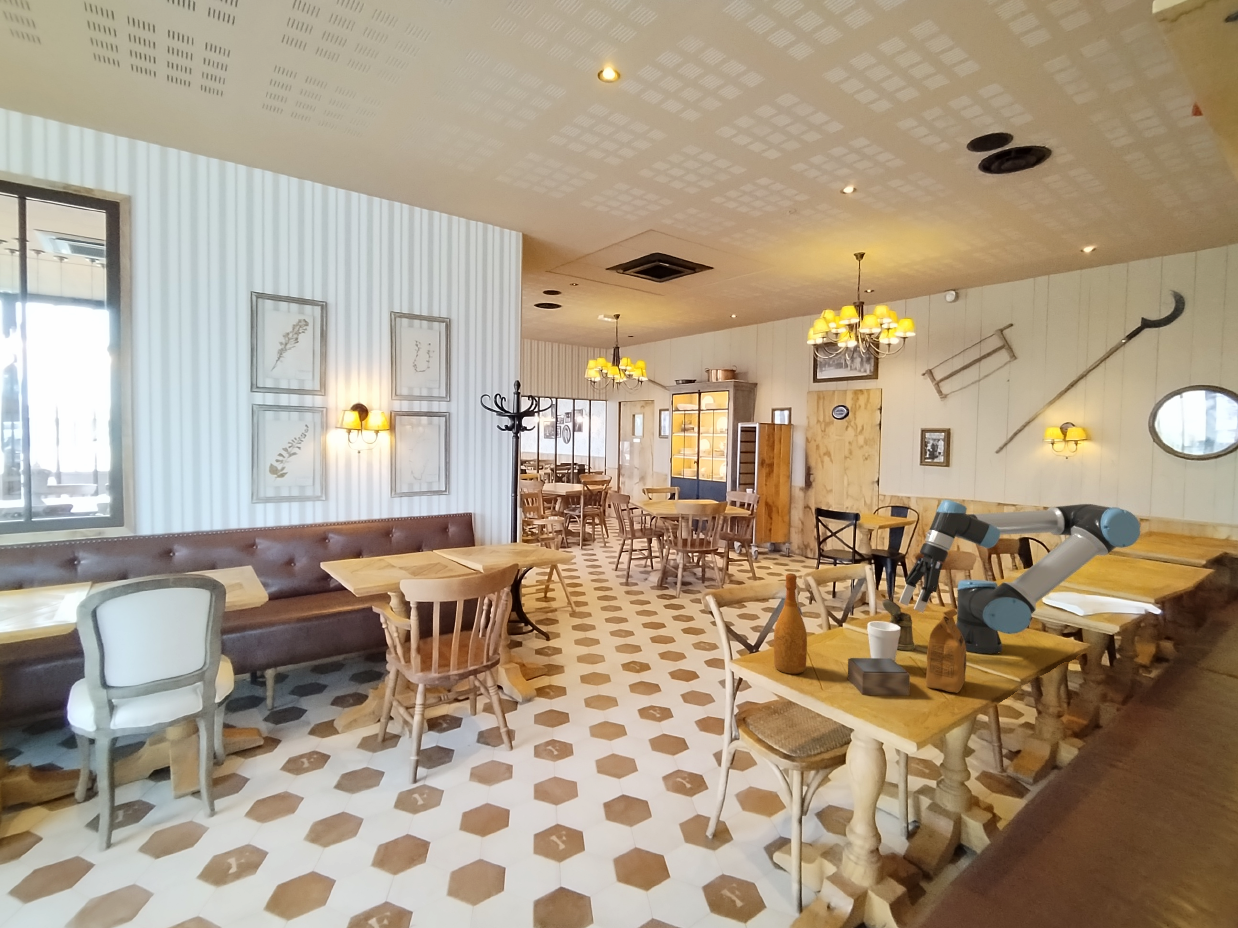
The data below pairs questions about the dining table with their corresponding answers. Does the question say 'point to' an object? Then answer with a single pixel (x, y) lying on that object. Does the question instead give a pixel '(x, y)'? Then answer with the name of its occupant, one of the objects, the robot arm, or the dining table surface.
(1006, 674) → the dining table surface
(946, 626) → the coffee package
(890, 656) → the foam cup
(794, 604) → the wine bottle
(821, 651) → the dining table surface
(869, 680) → the walnut stand
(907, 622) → the wooden mug
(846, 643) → the dining table surface
